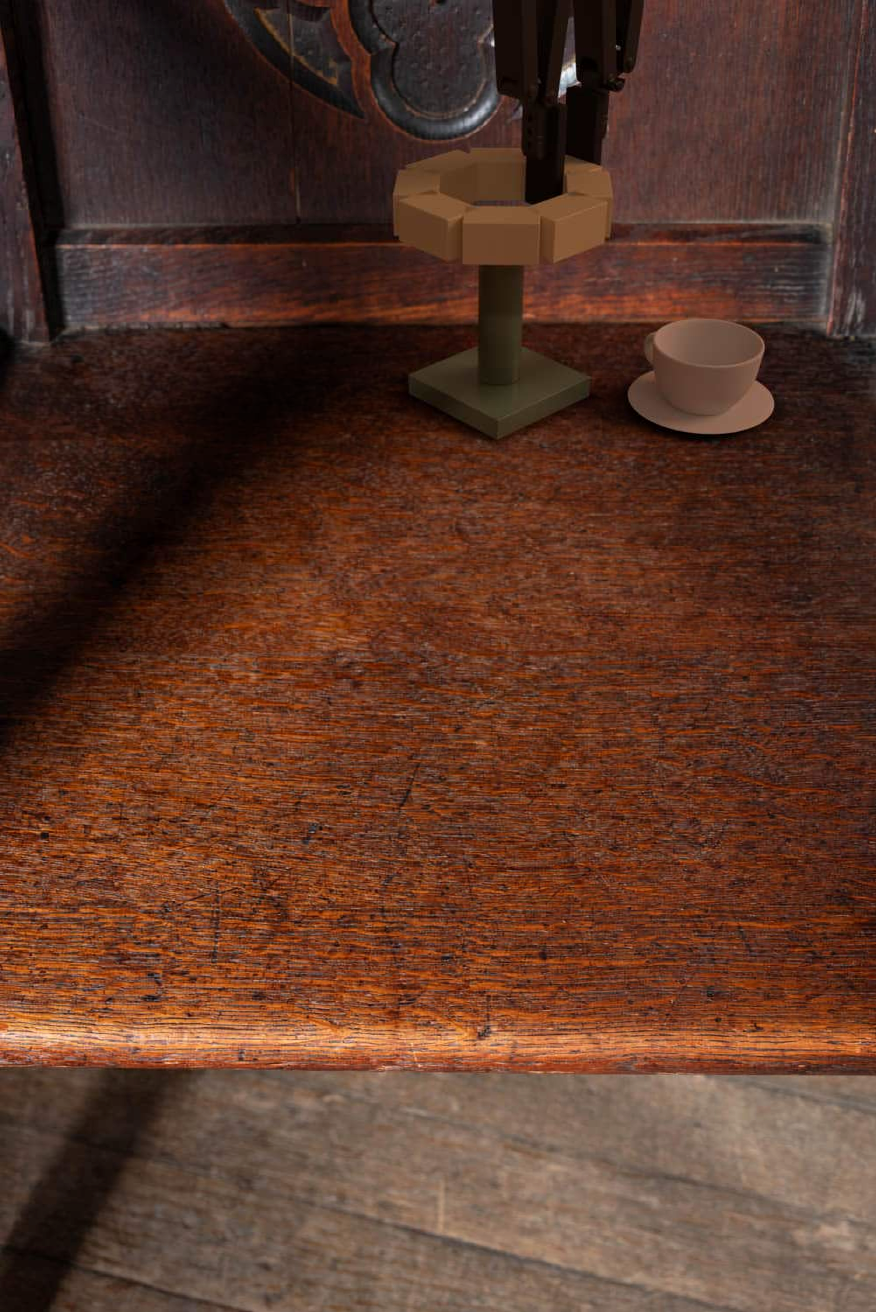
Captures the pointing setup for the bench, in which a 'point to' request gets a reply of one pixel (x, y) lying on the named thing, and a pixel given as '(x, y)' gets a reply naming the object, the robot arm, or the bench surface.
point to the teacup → (703, 378)
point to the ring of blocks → (498, 209)
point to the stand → (499, 367)
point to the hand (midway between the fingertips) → (561, 198)
